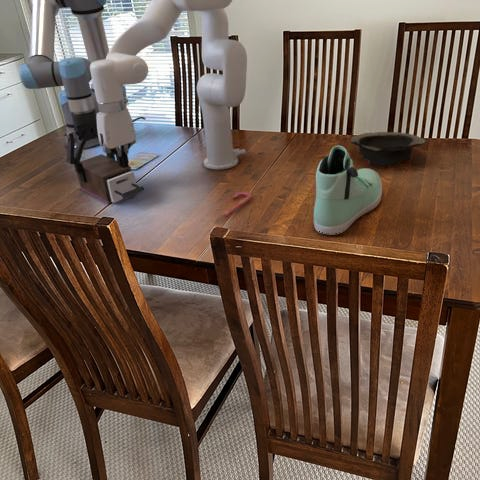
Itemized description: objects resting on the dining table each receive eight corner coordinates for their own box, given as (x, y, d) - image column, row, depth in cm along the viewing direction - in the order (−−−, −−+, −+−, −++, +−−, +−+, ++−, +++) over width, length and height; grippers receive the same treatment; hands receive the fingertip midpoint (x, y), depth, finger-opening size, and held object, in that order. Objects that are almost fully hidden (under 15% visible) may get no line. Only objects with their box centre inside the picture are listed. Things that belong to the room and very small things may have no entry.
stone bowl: (383, 178, 153) (383, 150, 149) (335, 160, 174) (334, 135, 169) (439, 159, 162) (442, 132, 158) (387, 144, 182) (388, 120, 178)
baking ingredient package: (116, 165, 178) (140, 152, 189) (116, 167, 178) (140, 153, 189) (135, 168, 174) (158, 154, 186) (135, 169, 174) (158, 155, 186)
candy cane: (211, 213, 142) (210, 209, 141) (240, 193, 152) (239, 189, 151) (227, 218, 139) (226, 213, 138) (255, 197, 149) (255, 193, 148)
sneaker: (389, 187, 148) (396, 123, 138) (356, 242, 123) (361, 168, 112) (346, 181, 154) (350, 119, 144) (306, 232, 129) (307, 161, 118)
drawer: (148, 197, 152) (144, 176, 148) (124, 208, 147) (119, 186, 143) (110, 179, 167) (106, 159, 163) (87, 188, 162) (81, 168, 158)
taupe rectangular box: (135, 192, 158) (130, 166, 154) (108, 204, 153) (102, 177, 148) (107, 179, 170) (101, 154, 165) (80, 189, 164) (74, 163, 159)
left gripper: (108, 100, 159) (121, 162, 171) (42, 118, 146) (62, 184, 157) (120, 103, 154) (133, 167, 166) (54, 122, 141) (72, 190, 153)
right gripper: (126, 98, 143) (137, 156, 152) (81, 110, 134) (95, 171, 143) (141, 102, 138) (151, 162, 147) (95, 115, 129) (108, 177, 139)
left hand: (98, 175), depth 162 cm, fingers closed on taupe rectangular box, 10 cm apart
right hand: (123, 166), depth 145 cm, fingers closed
